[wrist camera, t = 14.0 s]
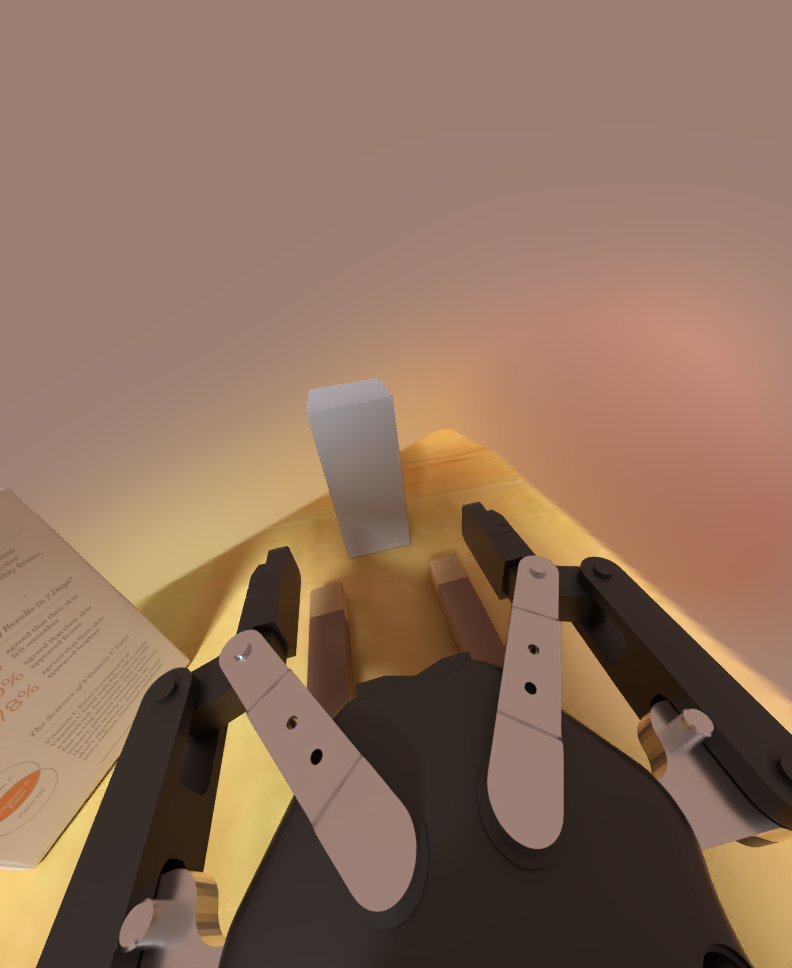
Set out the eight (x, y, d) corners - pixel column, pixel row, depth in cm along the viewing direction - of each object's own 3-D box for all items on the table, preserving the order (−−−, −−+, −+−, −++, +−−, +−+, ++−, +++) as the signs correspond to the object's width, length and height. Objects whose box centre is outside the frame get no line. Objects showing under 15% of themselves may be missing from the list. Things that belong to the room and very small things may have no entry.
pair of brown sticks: (309, 1026, 8) (293, 1037, 8) (317, 603, 20) (310, 590, 19) (618, 897, 9) (634, 895, 9) (455, 568, 21) (455, 554, 20)
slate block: (349, 558, 23) (306, 412, 16) (345, 519, 27) (309, 389, 21) (410, 543, 24) (392, 397, 17) (397, 507, 28) (378, 377, 21)
